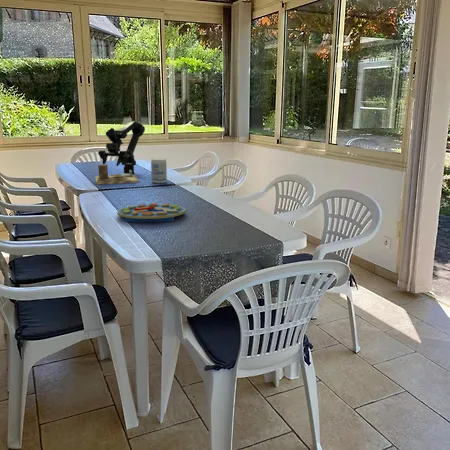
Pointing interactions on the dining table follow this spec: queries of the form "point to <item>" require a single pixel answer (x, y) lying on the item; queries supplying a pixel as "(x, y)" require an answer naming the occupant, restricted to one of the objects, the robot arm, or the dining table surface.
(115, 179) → the puzzle board
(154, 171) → the supplement tub
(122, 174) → the slide cover
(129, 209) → the shape sorting clock
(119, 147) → the robot arm
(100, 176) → the walnut block
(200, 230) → the dining table surface
